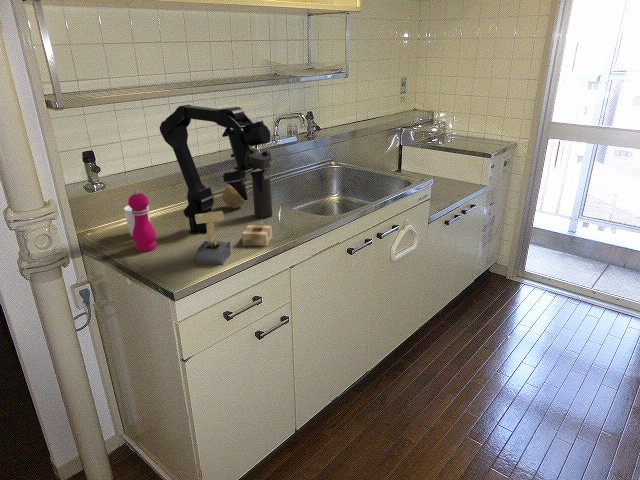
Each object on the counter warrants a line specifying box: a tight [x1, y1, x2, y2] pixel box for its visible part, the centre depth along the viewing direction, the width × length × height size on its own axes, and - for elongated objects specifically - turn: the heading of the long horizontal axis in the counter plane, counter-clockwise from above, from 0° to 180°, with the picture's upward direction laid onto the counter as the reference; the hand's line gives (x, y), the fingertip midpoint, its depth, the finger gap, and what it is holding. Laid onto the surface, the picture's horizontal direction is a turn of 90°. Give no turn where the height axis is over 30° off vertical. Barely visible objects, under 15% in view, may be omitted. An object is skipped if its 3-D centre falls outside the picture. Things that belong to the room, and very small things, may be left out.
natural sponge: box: [221, 184, 246, 209], centre depth 188 cm, size 9×9×10 cm
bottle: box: [251, 168, 273, 219], centre depth 177 cm, size 7×7×20 cm
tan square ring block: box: [241, 224, 273, 247], centre depth 157 cm, size 8×8×4 cm
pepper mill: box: [127, 188, 157, 253], centre depth 150 cm, size 7×7×20 cm
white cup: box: [123, 205, 151, 238], centre depth 164 cm, size 8×8×10 cm
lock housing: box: [195, 240, 232, 265], centre depth 144 cm, size 8×8×4 cm
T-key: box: [195, 210, 225, 249], centre depth 142 cm, size 8×2×15 cm, turn 113°
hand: (254, 196), depth 152 cm, fingers open, 9 cm apart
